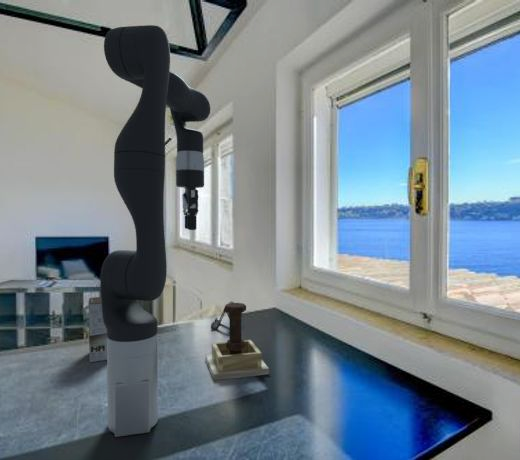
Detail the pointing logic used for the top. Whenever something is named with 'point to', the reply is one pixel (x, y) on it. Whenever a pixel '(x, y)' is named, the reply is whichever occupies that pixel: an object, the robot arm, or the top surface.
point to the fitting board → (235, 362)
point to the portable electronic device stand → (217, 322)
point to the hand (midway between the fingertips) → (190, 229)
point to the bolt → (235, 327)
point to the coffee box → (97, 331)
